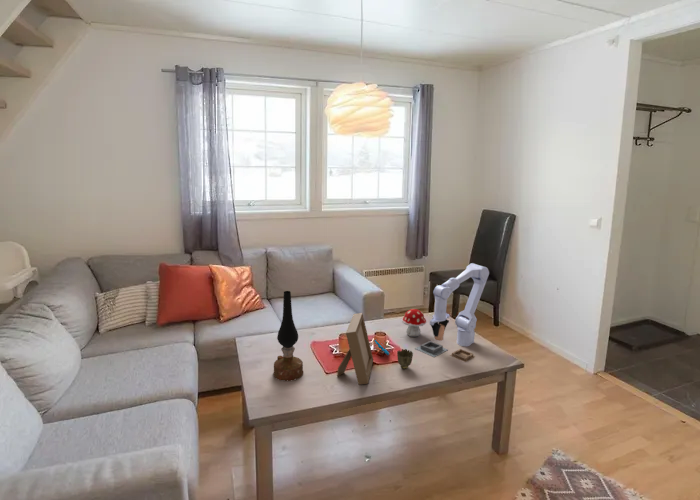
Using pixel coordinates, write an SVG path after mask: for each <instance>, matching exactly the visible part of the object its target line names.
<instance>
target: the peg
mask: <svg viewBox="0 0 700 500" xmlns="http://www.w3.org/2000/svg"><path fill="white" fill-rule="evenodd" d="M440 325H441V327H440V329H439V334H438V336H437V337H436V336H434V340H435V341H440V342H441V341H444V337H445V331H444V329H445V330H446V328H445V326H444V325H442V324H440Z"/></svg>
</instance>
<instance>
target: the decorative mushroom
mask: <svg viewBox="0 0 700 500" xmlns="http://www.w3.org/2000/svg"><path fill="white" fill-rule="evenodd" d="M401 323H402V324H403V325H405V326H407V327H406V331H405V332H406V334H407V336H408V337H414V338H416V337H419V336H420V335H421V328H420V327H423V326H425V325H426V324H427V319H426V318H425V315H424V313H423V312H422V311H421V310H420V309H417V308H410V309H407V311H405V313H404V316H403V317H402V318H401Z"/></svg>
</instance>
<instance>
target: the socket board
mask: <svg viewBox="0 0 700 500" xmlns="http://www.w3.org/2000/svg"><path fill="white" fill-rule="evenodd" d="M443 346H444V345H442V344H439V343H437V342H434V341H432V340H429V341H426V342H425V343H422V344H420V345H419V346H417V347H415V348H414V350H417V351H419V352H421V353H422V354H423V353H424V354H426V355H428V356H430V357H433V358H437V356H440V355H441V354H443V353H445V352H448V350H449V349H448V348H445V347H443Z"/></svg>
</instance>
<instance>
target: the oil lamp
mask: <svg viewBox="0 0 700 500" xmlns="http://www.w3.org/2000/svg"><path fill="white" fill-rule="evenodd" d="M277 332H278V333H277V337H276V339H277V342H278V343H279V345H280V346H282V347H281V352H282V354H283V355H278V356H277V359H276V360H275V361H274V362H273V373H272V374H273V377H274V378H275V379H276V378H277V379H276V380H278V379H279V380H278V381H281V380H285V381H284V382H292V381H296V380H299V379H300V378H302V377H303V375H304V369H303V366H304V365H303V361H302V359H301V358H299V357H296V356H294V352H295V349H296V348H295V344H296V343H297V342H298V340H299V333H298V330H297V327H296V325H295V322H294V319H293V307H292V295H291V291H290V290H285V291H283V307H282V321H281V323H280V327H279V329H278V331H277ZM295 379H296V380H295ZM287 380H288V381H287ZM291 380H292V381H291Z"/></svg>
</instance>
